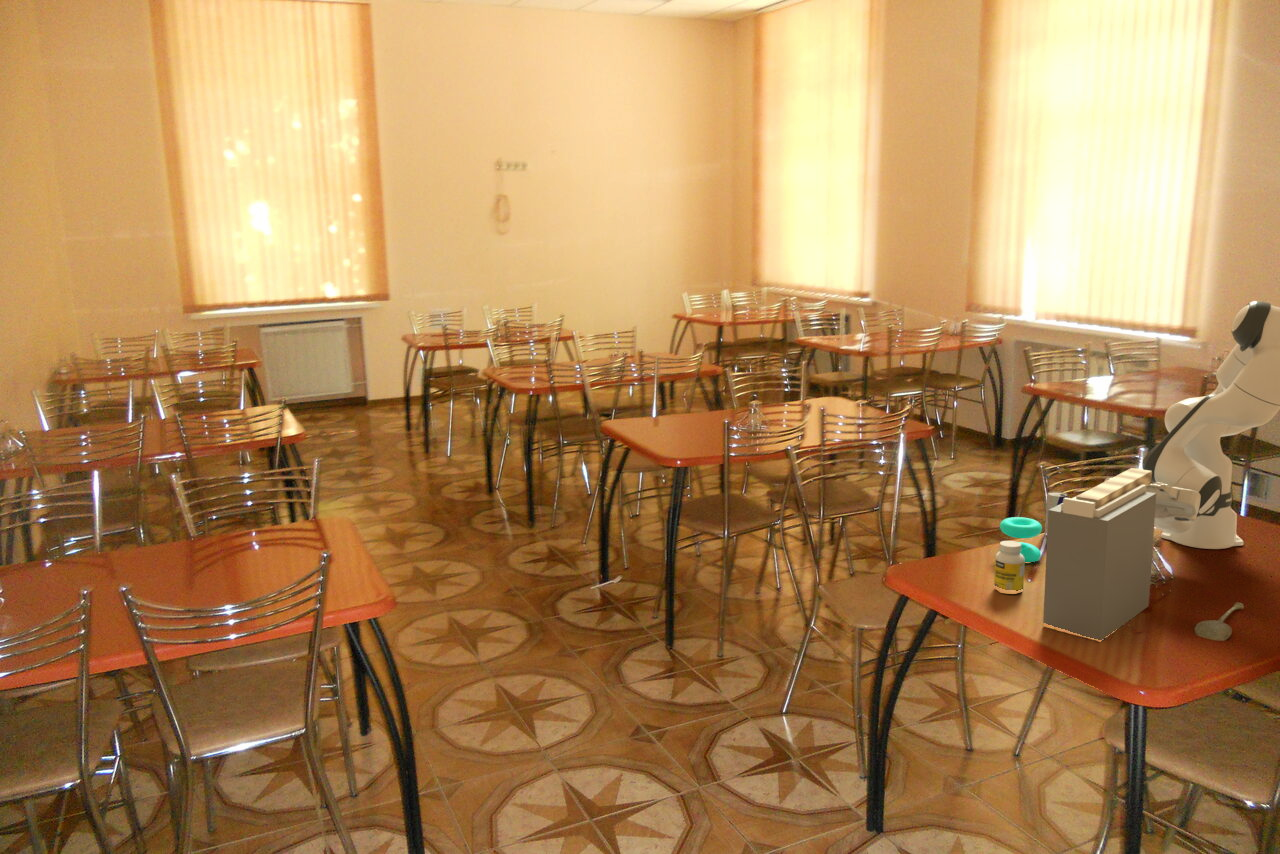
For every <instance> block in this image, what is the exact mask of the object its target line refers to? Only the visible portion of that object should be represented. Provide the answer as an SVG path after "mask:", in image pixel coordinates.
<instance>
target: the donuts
mask: <svg viewBox="0 0 1280 854" xmlns="http://www.w3.org/2000/svg"><path fill="white" fill-rule="evenodd" d="M999 528H1000V530H1001V532H1002V533H1003V534H1005V535H1006V536H1008V537H1011V538H1015V539H1032V538H1035V537H1037V536H1039V535H1040V534H1041V532H1042V531H1043V526H1042V524H1041V522H1039V521H1038V520H1037V519H1036V520H1035V519H1034V518H1028V517H1022V516H1019V517H1018V516H1014V517H1013V516H1012V517H1007V518H1004V519H1003V520H1001V522H1000V524H999ZM1018 542H1019V543H1021V551H1020V553H1021V554H1022V555H1023V556H1024V558H1025V562H1034V563H1036V562H1038V561H1039V560H1040V559H1041V556H1042V553H1041V550H1040V549H1039V548H1038V547H1037V546H1035V545H1034V544H1031V543H1028V542H1021V541H1018ZM1000 551H1001V550H1000V549H999V551H998V552H1000ZM1035 561H1036V562H1035Z"/></svg>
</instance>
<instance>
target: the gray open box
mask: <svg viewBox="0 0 1280 854" xmlns="http://www.w3.org/2000/svg"><path fill="white" fill-rule="evenodd" d="M1096 486H1097V485H1096ZM1096 486H1094V487H1096ZM1094 487H1091V488H1090V489H1092V488H1094ZM1090 489H1087V490H1086V491H1088V490H1090ZM1086 491H1083V492H1082V493H1084V492H1086ZM1082 493H1080V494H1082ZM1080 494H1078V495H1080ZM1078 495H1076V496H1078ZM1076 496H1074V497H1072V498H1070V497H1068V498H1064V499H1063V503H1061V504H1059V505H1057V506H1055V507H1053V508H1051V509H1049V510H1048V530H1047V536H1046V553H1045V573H1044V574H1045V575H1044V576H1045V577H1044V578H1045V579H1044V597H1043V598H1044V601H1043V620H1042V621H1043V623H1046V624H1048V625H1052V626H1054V627H1058V628H1061V629H1065V630H1068V631H1070V632H1073V633H1077V634H1080V635H1082V636H1086V637H1090V638H1094V639H1098V640H1102V639H1104V638H1105V637H1106V636H1108V635H1109V634H1111V633H1112V632H1113V631H1115V630H1116V629H1118V628H1119V627H1121V626H1122V625H1123V626H1125V625H1126V624H1127V623H1128V622H1130V621H1131V620H1132V619H1134V618H1135V617H1136V616H1137V615H1139V614H1140V613H1141V612H1143V611H1144V610H1145V609H1147V608H1148V607H1150V606H1149V605H1150V604H1149V603H1150V591H1151V589H1150V588H1151V578H1152V577H1151V575H1152V561H1153V547H1154V533H1155V532H1154V531H1155V525H1154V520H1155V506H1156V493H1151V492H1146V485H1143V484H1142V485H1140V486H1138V487H1136V488H1135V489H1133V490H1131V491H1129V492H1127V493H1125V494H1123V495H1122V496H1120V497H1118V498H1116V499H1114V500H1112V501H1110V502H1109V503H1107V504H1105V505H1103V506H1101V507H1099V508H1097V509H1096V510H1095V502H1089V501H1083V500H1077V499H1076ZM1129 620H1130V621H1129ZM1126 622H1127V623H1126ZM1125 623H1126V624H1125ZM1123 626H1122V627H1123ZM1122 627H1121V628H1122ZM1119 629H1120V628H1119ZM1119 629H1118V630H1119ZM1115 632H1116V631H1115ZM1111 635H1112V634H1111Z"/></svg>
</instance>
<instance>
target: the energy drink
mask: <svg viewBox="0 0 1280 854" xmlns="http://www.w3.org/2000/svg"><path fill="white" fill-rule="evenodd" d="M1064 498H1069V496H1068V493H1066V492H1064V491H1049V492H1047V495H1046V502H1045V503H1046V504H1045V505H1046V506H1045V508H1046V509H1045V525H1044V526H1045V528H1044V529H1045V530H1044V534H1045V533H1047V530H1048V510H1049V509H1051V508H1053V507H1055V506H1057V505H1059V504H1061V503H1063V499H1064Z"/></svg>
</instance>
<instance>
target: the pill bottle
mask: <svg viewBox="0 0 1280 854" xmlns="http://www.w3.org/2000/svg"><path fill="white" fill-rule="evenodd" d="M1019 542H1020V541H1016V540H1002V541H1000V542H999V550H1001V551H1000V552H999V551H998V552H997V553H996V554H995V557H994V574H993V575H994V578H993V579H994V582H993V586H994V585H995V586H997V587H999V588H1002V589H1005V590H1016V591H1018V590H1021V589H1023V590H1024V581H1025V579H1024V578H1025V566H1026V564H1025V558H1024V556H1023V555H1022V554H1021V553H1020V551H1021V543H1019Z"/></svg>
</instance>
